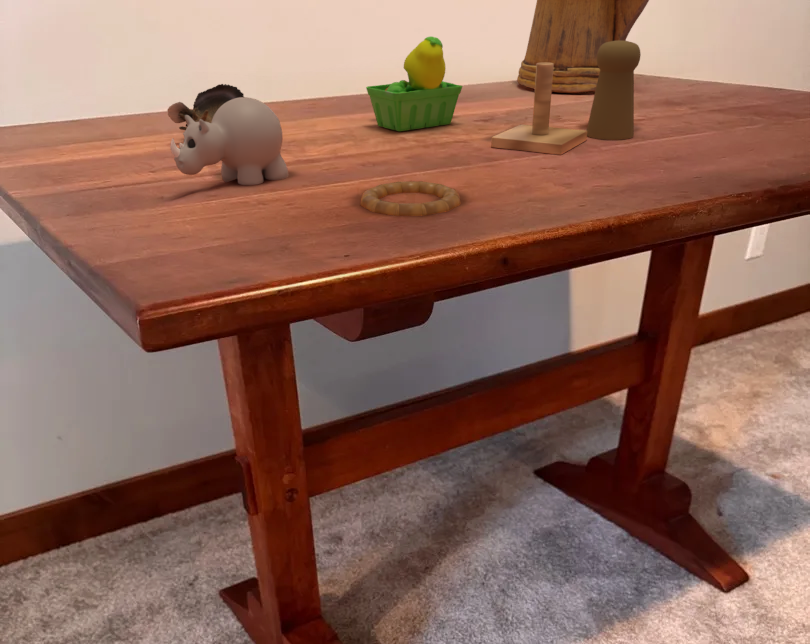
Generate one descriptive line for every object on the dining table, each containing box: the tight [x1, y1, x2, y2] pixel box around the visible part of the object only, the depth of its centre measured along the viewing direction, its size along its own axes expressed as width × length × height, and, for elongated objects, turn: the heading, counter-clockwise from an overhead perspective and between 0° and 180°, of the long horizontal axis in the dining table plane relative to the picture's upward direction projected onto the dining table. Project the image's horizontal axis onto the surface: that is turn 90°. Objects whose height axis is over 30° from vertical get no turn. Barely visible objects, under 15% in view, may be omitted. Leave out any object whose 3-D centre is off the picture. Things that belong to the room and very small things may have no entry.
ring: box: [359, 180, 462, 217], centre depth 74 cm, size 9×9×2 cm
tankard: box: [516, 0, 650, 94], centre depth 130 cm, size 18×24×25 cm
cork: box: [585, 40, 642, 141], centre depth 100 cm, size 6×6×11 cm
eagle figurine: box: [166, 83, 245, 132], centre depth 101 cm, size 8×7×9 cm
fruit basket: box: [365, 36, 463, 132], centre depth 106 cm, size 11×9×11 cm
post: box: [490, 62, 588, 156], centre depth 96 cm, size 9×9×9 cm
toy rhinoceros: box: [169, 96, 290, 186], centre depth 80 cm, size 7×12×8 cm, turn 129°
